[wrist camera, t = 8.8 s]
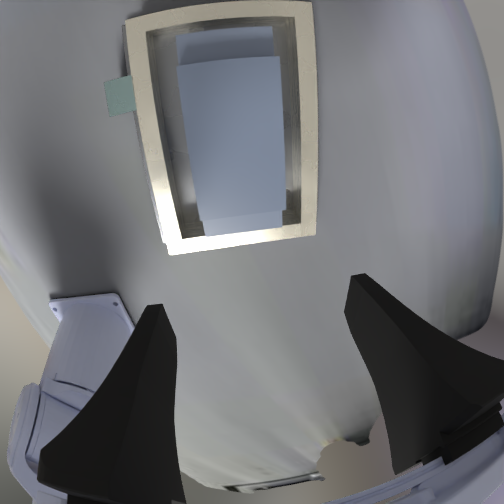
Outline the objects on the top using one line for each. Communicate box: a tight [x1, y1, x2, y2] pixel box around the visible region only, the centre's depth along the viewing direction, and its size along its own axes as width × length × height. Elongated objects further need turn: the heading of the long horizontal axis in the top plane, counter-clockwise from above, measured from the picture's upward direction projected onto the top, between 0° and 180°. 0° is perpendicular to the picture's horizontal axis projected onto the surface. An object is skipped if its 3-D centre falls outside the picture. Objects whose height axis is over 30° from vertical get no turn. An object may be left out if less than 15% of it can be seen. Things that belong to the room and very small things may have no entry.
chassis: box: [104, 0, 319, 255], centre depth 15 cm, size 15×12×3 cm
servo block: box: [175, 26, 286, 238], centre depth 13 cm, size 10×4×6 cm, turn 4°
